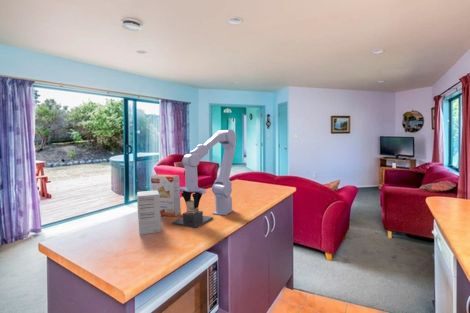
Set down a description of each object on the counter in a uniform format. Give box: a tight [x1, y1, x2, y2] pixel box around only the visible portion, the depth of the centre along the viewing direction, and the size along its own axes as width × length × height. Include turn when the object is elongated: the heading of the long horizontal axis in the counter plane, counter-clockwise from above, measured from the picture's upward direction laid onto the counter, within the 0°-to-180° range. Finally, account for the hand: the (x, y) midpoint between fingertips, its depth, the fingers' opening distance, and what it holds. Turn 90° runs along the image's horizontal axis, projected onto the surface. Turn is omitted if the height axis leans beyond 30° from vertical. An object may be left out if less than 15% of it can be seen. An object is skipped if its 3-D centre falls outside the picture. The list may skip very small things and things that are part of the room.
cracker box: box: [150, 174, 182, 217], centre depth 139 cm, size 14×6×21 cm, turn 69°
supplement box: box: [136, 190, 162, 236], centre depth 117 cm, size 10×9×17 cm
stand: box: [171, 210, 214, 229], centre depth 127 cm, size 14×14×5 cm
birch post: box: [185, 199, 200, 214], centre depth 127 cm, size 4×4×7 cm
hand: (192, 207), depth 127 cm, fingers closed on birch post, 4 cm apart
